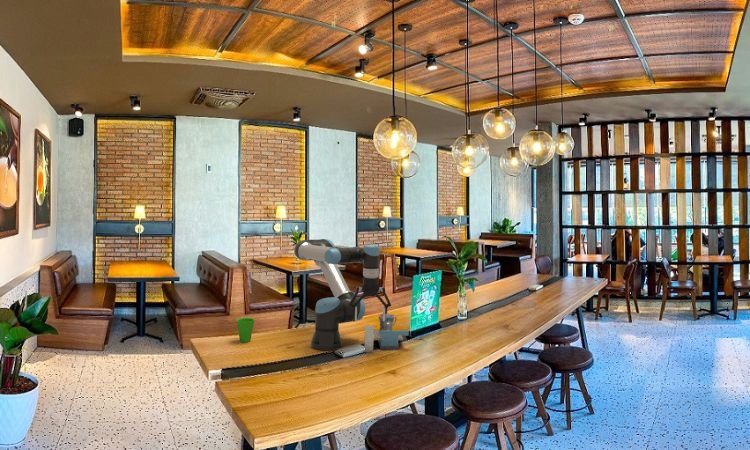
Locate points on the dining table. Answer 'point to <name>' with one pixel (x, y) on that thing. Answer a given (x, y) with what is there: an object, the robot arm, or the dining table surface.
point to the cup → (245, 329)
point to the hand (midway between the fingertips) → (369, 320)
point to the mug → (386, 320)
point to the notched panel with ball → (389, 337)
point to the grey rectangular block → (369, 338)
